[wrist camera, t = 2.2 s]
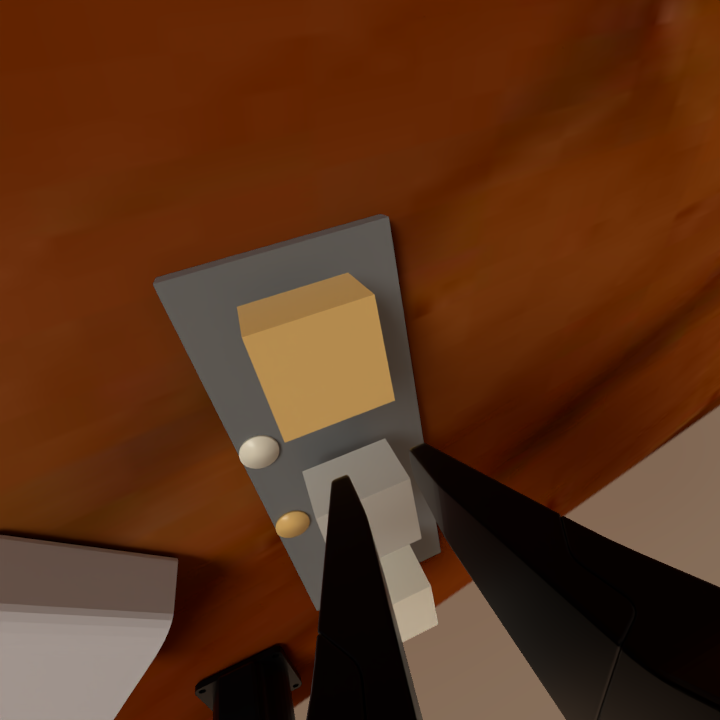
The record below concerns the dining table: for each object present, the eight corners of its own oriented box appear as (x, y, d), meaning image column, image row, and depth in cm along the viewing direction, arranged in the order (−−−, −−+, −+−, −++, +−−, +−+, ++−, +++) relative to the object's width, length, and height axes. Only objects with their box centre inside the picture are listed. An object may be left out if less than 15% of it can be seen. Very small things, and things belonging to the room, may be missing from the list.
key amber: (368, 366, 18) (394, 400, 15) (274, 400, 17) (284, 442, 14) (347, 272, 15) (374, 294, 13) (236, 306, 14) (241, 337, 12)
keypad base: (434, 541, 30) (442, 554, 29) (314, 597, 28) (317, 613, 27) (380, 214, 18) (390, 217, 17) (155, 277, 16) (151, 285, 15)
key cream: (417, 580, 27) (438, 624, 24) (357, 609, 26) (372, 657, 23) (408, 542, 24) (430, 585, 22) (342, 572, 24) (357, 621, 21)
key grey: (397, 495, 22) (421, 538, 20) (324, 527, 21) (339, 576, 19) (385, 438, 20) (410, 478, 17) (302, 471, 19) (315, 518, 17)
